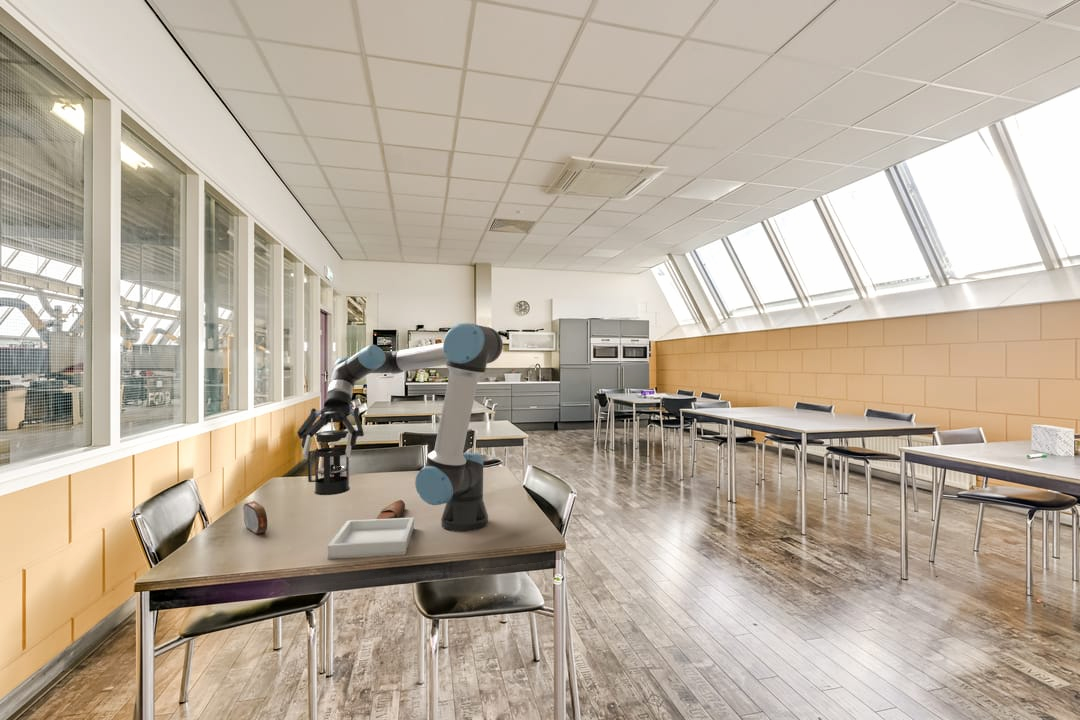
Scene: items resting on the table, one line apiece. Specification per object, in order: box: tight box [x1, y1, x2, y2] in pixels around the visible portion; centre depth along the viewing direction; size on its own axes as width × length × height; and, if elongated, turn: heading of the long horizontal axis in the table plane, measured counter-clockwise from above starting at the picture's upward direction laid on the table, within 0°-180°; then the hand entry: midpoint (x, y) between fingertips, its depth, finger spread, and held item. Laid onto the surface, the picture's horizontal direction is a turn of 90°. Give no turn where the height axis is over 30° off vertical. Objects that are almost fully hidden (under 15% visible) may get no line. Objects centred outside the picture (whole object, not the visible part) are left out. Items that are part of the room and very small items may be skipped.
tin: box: [242, 500, 268, 535], centre depth 150 cm, size 15×3×8 cm, turn 47°
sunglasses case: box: [375, 499, 406, 519], centre depth 164 cm, size 18×7×7 cm
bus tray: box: [327, 517, 415, 560], centre depth 139 cm, size 20×22×4 cm
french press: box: [307, 411, 350, 496], centre depth 138 cm, size 12×9×23 cm
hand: (326, 455), depth 136 cm, fingers closed on french press, 11 cm apart
